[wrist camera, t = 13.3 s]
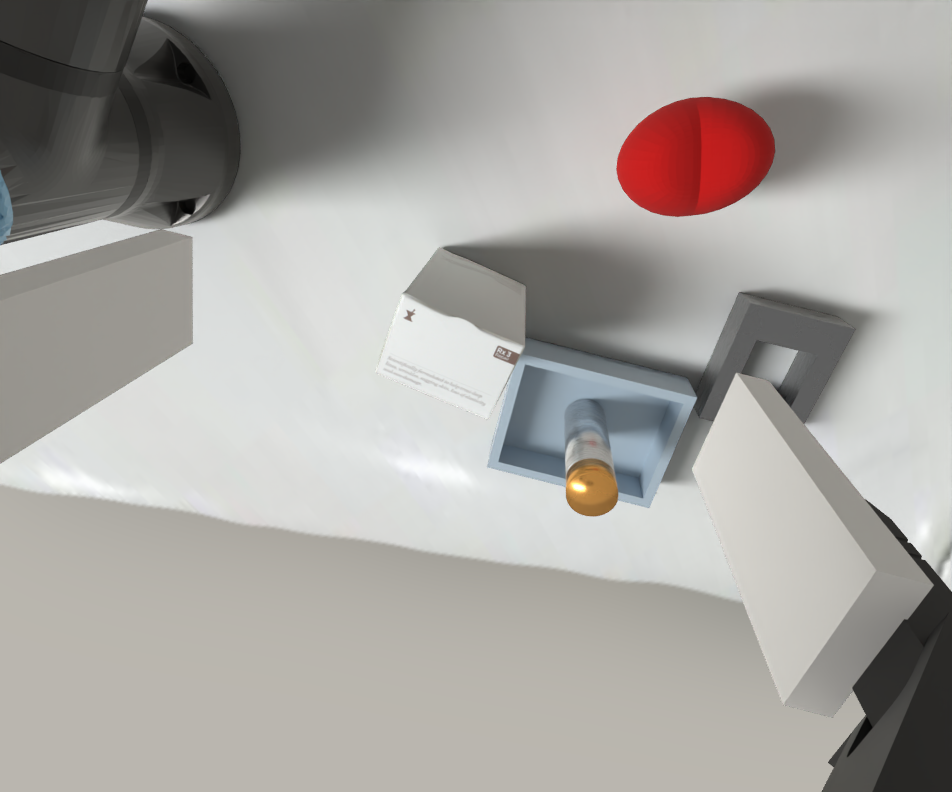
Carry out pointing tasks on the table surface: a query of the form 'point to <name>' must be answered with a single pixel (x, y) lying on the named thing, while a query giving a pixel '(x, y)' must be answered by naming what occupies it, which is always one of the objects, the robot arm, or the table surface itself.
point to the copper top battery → (588, 459)
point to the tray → (626, 409)
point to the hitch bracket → (783, 327)
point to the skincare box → (457, 333)
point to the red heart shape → (695, 157)
